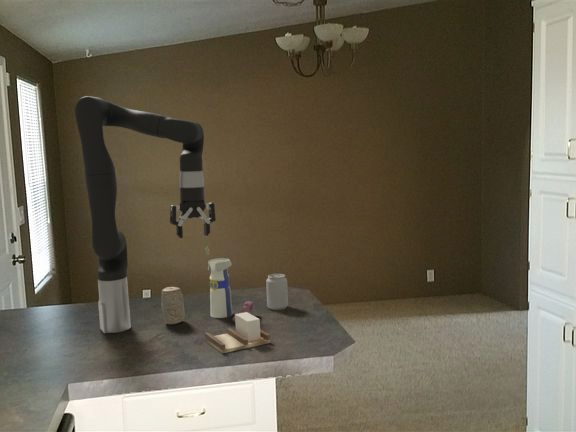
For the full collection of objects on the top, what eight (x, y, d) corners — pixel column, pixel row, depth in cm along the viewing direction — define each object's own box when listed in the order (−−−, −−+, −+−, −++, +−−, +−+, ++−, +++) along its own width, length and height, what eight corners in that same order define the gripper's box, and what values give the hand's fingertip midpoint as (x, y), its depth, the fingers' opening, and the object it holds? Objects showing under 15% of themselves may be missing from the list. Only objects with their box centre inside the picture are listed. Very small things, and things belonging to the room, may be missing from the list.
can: (265, 306, 214) (263, 274, 213) (284, 303, 216) (283, 271, 215) (270, 311, 207) (269, 278, 205) (290, 309, 209) (289, 276, 208)
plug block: (235, 333, 182) (235, 314, 181) (247, 330, 183) (246, 311, 183) (248, 341, 174) (247, 321, 173) (260, 338, 176) (259, 319, 175)
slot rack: (221, 353, 168) (221, 345, 167) (205, 340, 179) (204, 333, 179) (270, 342, 175) (270, 334, 175) (251, 331, 186) (251, 323, 186)
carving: (161, 321, 200) (159, 287, 199) (183, 318, 203) (181, 284, 201) (163, 327, 194) (161, 291, 193) (186, 324, 197) (184, 289, 195)
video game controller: (243, 327, 196) (251, 309, 194) (230, 321, 196) (239, 303, 195) (250, 318, 205) (258, 301, 204) (238, 312, 206) (246, 295, 204)
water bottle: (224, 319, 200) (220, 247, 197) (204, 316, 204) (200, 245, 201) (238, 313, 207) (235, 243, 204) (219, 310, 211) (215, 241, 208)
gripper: (209, 183, 191) (210, 233, 193) (166, 185, 184) (168, 237, 187) (217, 185, 185) (219, 236, 187) (173, 187, 178) (175, 240, 180)
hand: (193, 236), depth 187 cm, fingers open, 8 cm apart
